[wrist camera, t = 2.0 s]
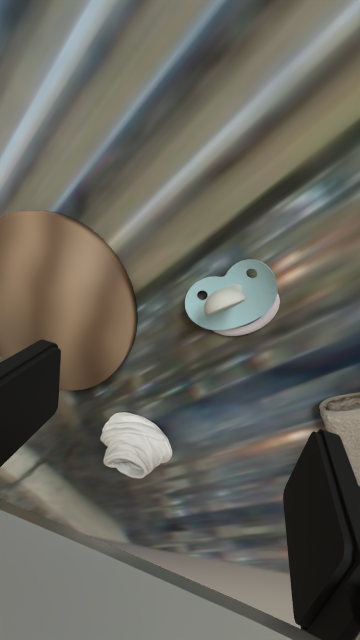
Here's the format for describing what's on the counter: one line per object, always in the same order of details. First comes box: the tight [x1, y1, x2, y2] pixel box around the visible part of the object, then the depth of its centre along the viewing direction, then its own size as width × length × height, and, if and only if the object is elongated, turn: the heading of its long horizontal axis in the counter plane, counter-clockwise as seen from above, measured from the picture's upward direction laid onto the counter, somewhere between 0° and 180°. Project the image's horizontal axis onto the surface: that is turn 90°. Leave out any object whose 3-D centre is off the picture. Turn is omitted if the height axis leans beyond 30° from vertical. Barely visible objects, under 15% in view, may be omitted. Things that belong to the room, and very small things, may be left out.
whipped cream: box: [100, 412, 172, 479], centre depth 31 cm, size 8×7×5 cm
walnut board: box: [0, 211, 138, 390], centre depth 29 cm, size 18×18×2 cm
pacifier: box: [185, 259, 280, 336], centre depth 22 cm, size 7×6×6 cm
